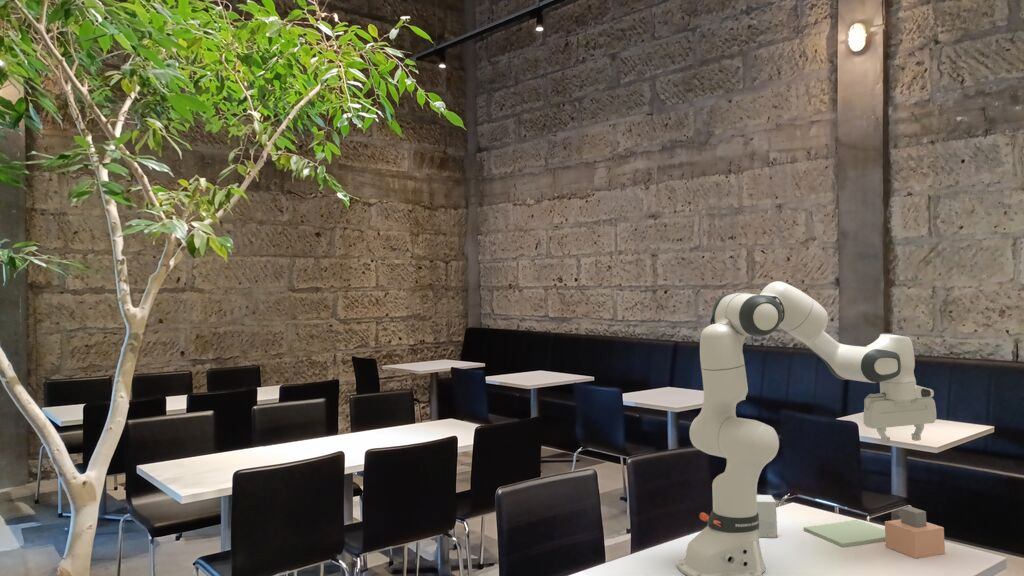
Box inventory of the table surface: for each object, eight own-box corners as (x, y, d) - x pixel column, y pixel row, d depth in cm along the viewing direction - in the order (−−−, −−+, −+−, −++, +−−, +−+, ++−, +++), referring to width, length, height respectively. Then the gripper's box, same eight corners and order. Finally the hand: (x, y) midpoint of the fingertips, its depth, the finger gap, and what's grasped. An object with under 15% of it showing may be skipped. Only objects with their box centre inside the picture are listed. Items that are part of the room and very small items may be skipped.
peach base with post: (915, 558, 191) (914, 516, 191) (885, 546, 200) (884, 507, 200) (944, 553, 194) (943, 512, 194) (913, 542, 203) (912, 503, 203)
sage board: (842, 547, 201) (842, 543, 201) (803, 530, 216) (803, 527, 216) (899, 538, 207) (899, 535, 207) (857, 523, 222) (857, 519, 222)
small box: (777, 538, 210) (776, 501, 210) (757, 537, 211) (756, 501, 211) (773, 529, 218) (772, 494, 218) (753, 529, 219) (752, 494, 219)
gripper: (871, 396, 193) (874, 447, 193) (939, 390, 196) (942, 440, 196) (856, 393, 199) (859, 443, 199) (922, 387, 203) (924, 436, 202)
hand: (901, 441), depth 198 cm, fingers open, 8 cm apart
